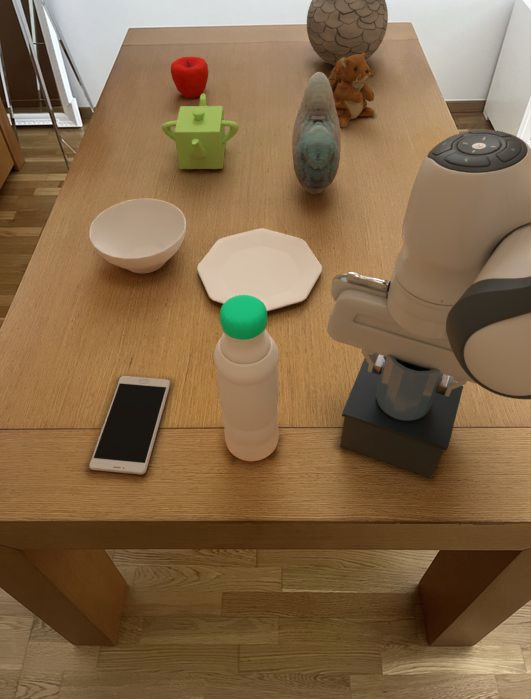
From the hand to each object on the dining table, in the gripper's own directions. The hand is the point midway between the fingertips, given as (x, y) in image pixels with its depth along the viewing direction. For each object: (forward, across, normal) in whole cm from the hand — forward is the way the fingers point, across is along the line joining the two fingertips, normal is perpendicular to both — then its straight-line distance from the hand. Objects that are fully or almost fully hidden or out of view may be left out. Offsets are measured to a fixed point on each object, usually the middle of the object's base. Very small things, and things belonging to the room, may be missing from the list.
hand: (409, 379), depth 66 cm
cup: (+4, 0, 0) cm, 4 cm away
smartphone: (+12, -33, -12) cm, 37 cm away
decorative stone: (+12, -29, +49) cm, 58 cm away
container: (+12, 0, 0) cm, 12 cm away
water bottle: (+12, -17, -8) cm, 22 cm away
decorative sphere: (+12, -41, +104) cm, 112 cm away
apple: (+12, -70, +75) cm, 103 cm away
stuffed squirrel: (+12, -33, +80) cm, 87 cm away
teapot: (+12, -54, +50) cm, 75 cm away
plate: (+12, -29, +22) cm, 38 cm away
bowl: (+12, -49, +18) cm, 54 cm away
